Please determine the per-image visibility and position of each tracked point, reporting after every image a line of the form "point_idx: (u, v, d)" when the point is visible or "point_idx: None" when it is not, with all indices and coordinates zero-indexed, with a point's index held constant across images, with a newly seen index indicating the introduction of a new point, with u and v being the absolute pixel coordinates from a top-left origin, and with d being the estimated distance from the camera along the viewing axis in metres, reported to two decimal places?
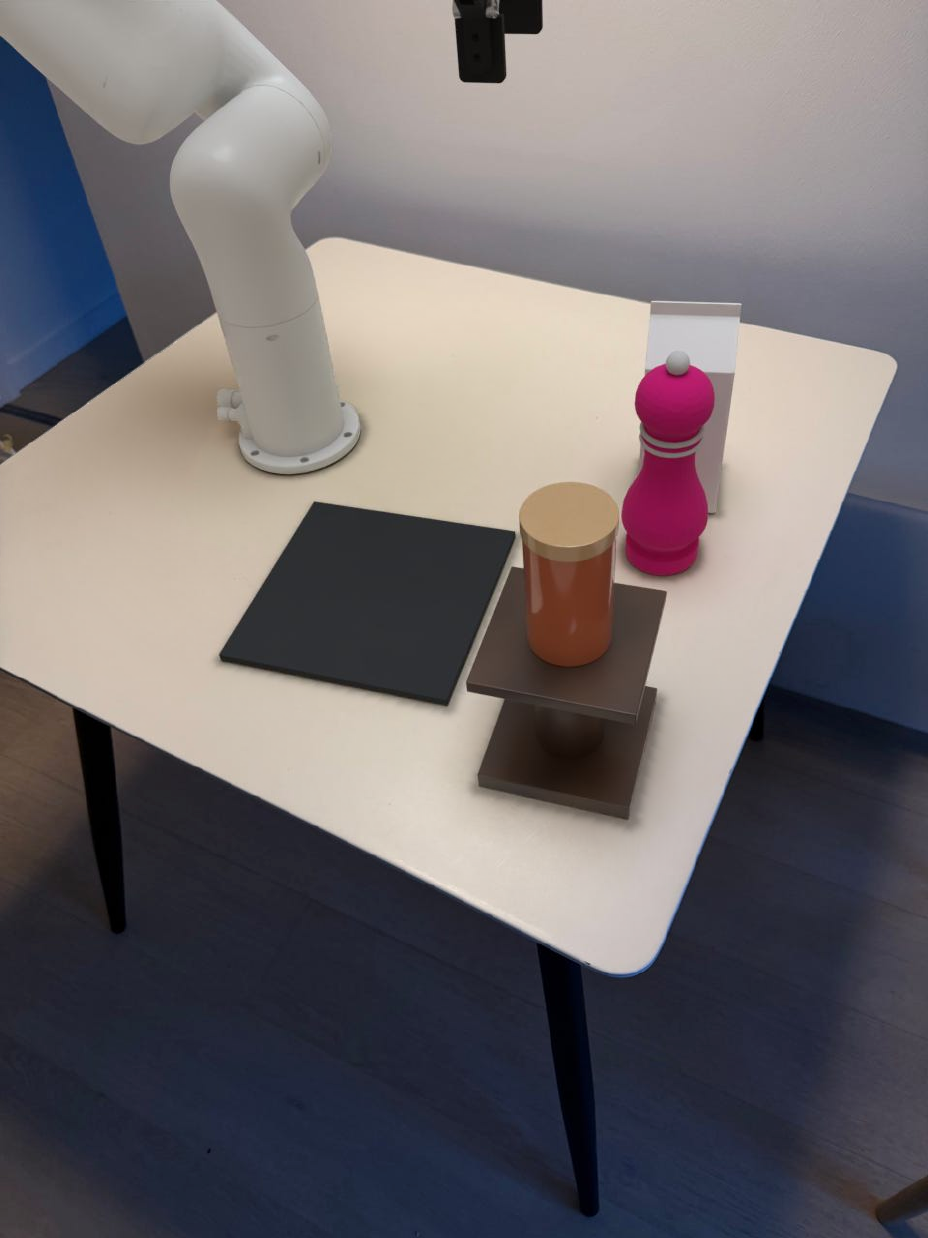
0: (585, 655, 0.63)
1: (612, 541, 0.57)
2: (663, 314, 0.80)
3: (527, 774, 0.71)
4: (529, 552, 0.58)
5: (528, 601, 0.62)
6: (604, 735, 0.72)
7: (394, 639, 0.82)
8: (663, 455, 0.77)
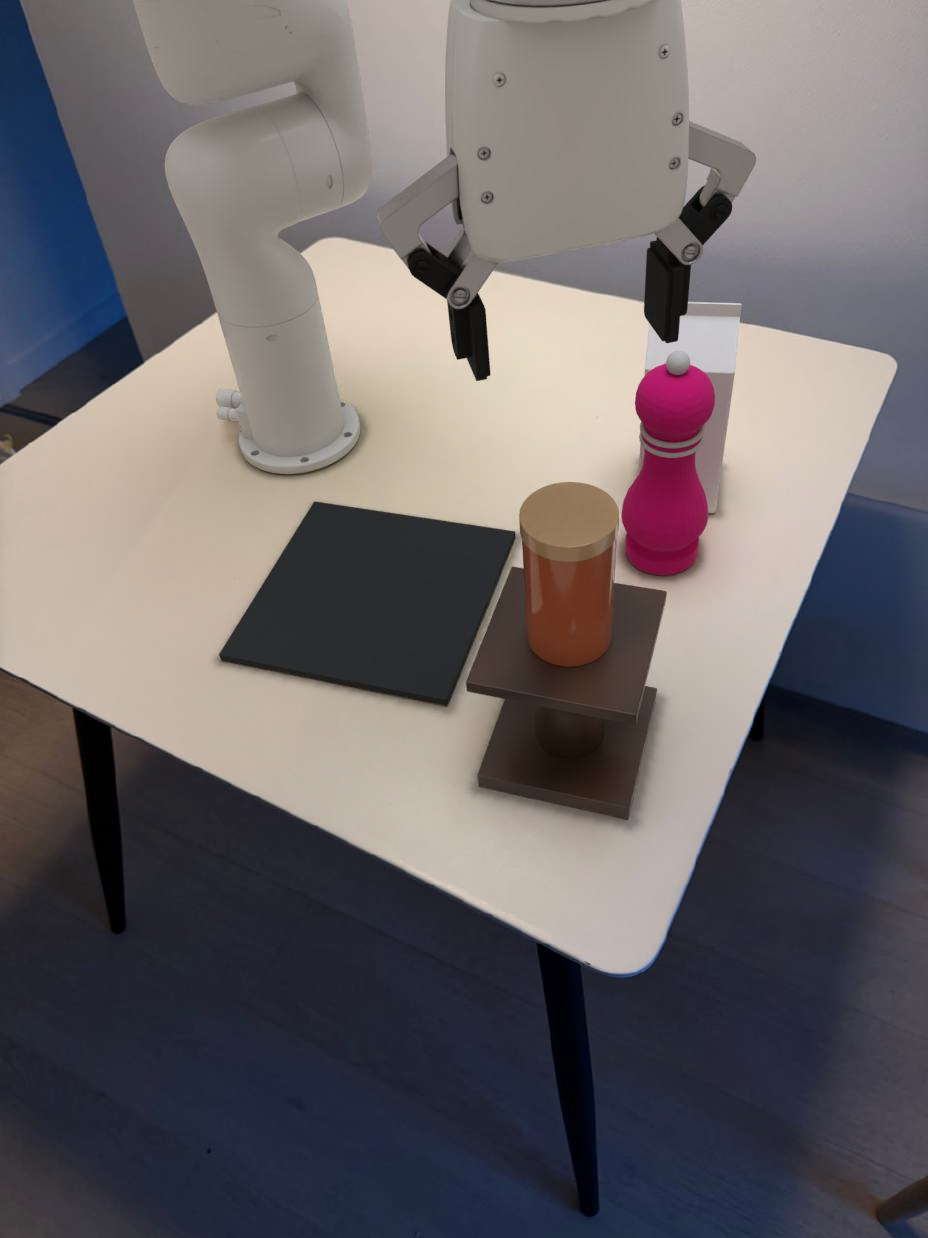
0: (585, 655, 0.63)
1: (612, 541, 0.57)
2: None
3: (527, 774, 0.71)
4: (529, 552, 0.58)
5: (528, 601, 0.62)
6: (604, 735, 0.72)
7: (394, 639, 0.82)
8: (664, 455, 0.77)
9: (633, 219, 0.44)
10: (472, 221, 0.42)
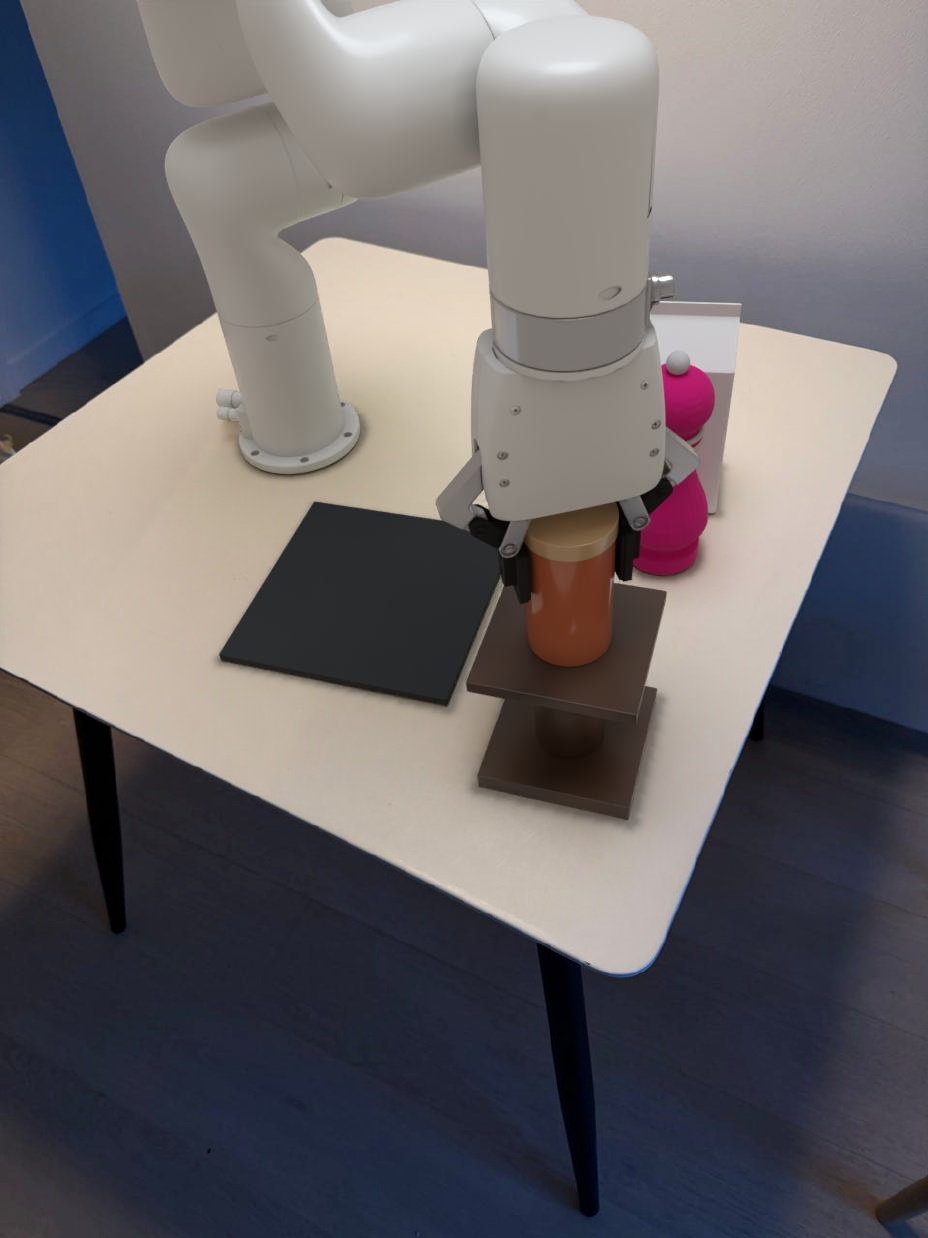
0: (585, 655, 0.63)
1: (612, 541, 0.57)
2: (663, 314, 0.80)
3: (527, 774, 0.71)
4: (529, 552, 0.58)
5: None
6: (604, 735, 0.72)
7: (394, 639, 0.82)
8: None
9: (621, 490, 0.54)
10: (492, 497, 0.53)
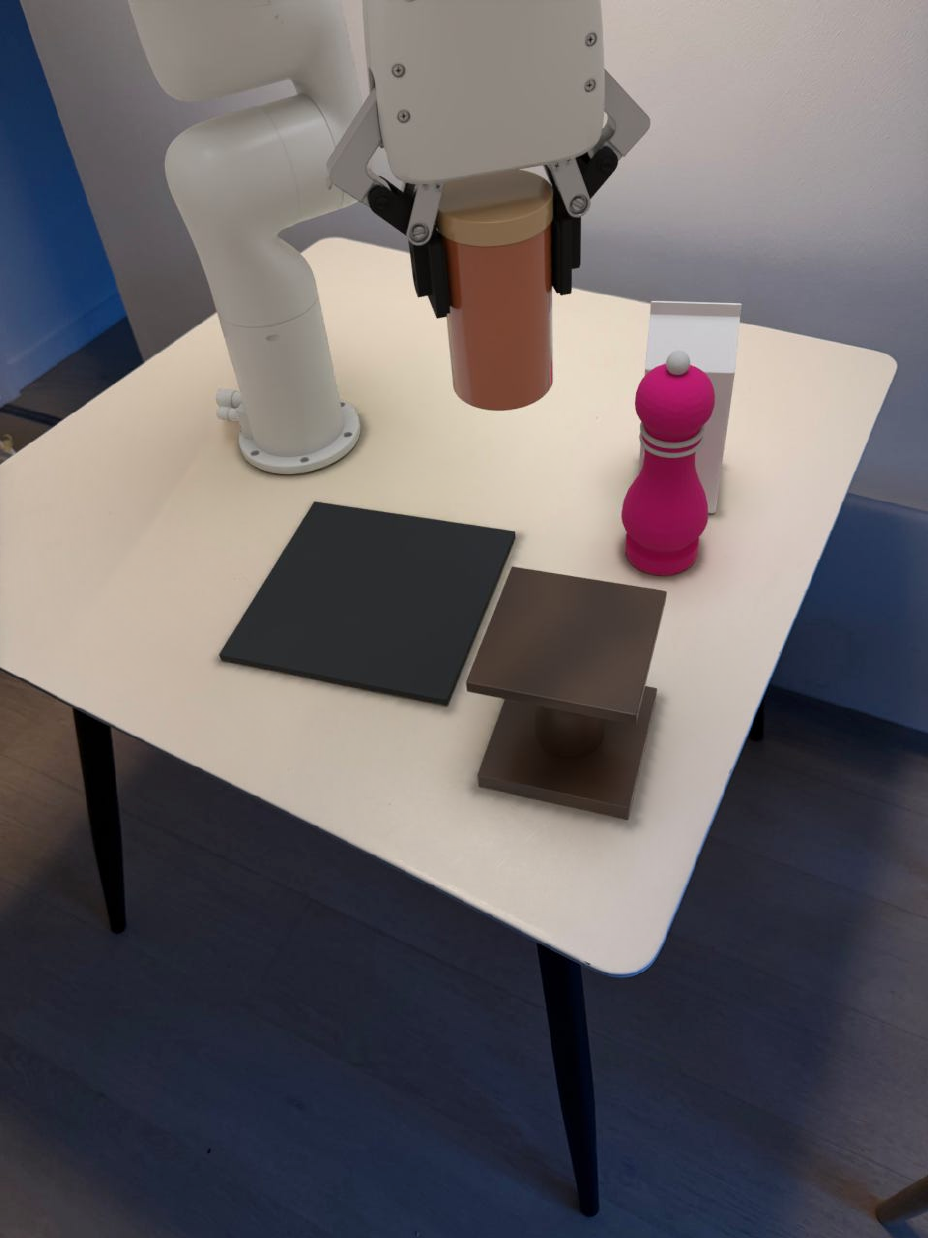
0: (518, 393, 0.53)
1: (544, 224, 0.47)
2: (663, 314, 0.80)
3: (527, 774, 0.71)
4: (445, 243, 0.48)
5: (449, 323, 0.51)
6: (604, 735, 0.72)
7: (394, 639, 0.82)
8: (664, 455, 0.77)
9: (551, 142, 0.44)
10: (390, 140, 0.43)
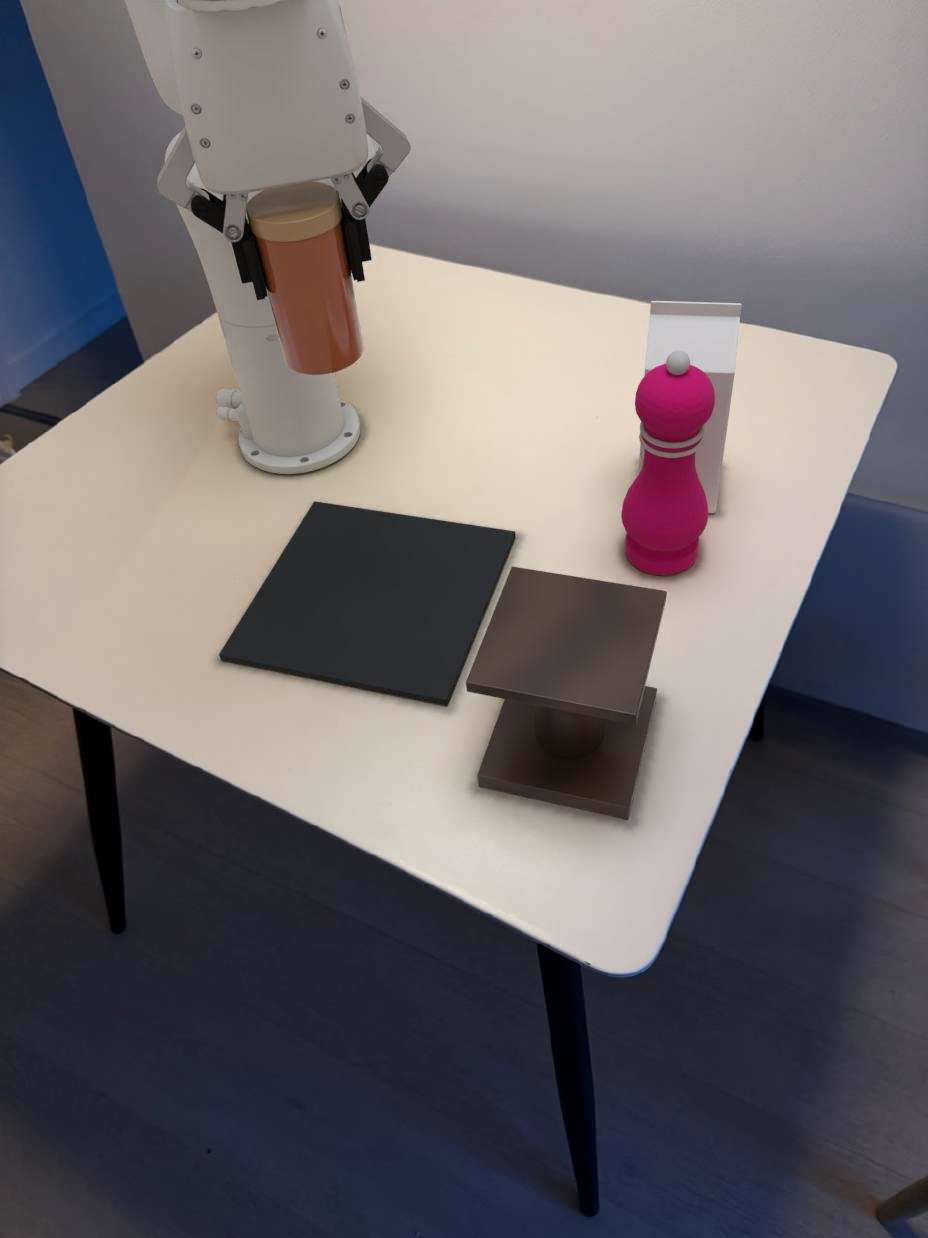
0: (329, 360, 0.66)
1: (331, 225, 0.60)
2: (663, 314, 0.80)
3: (527, 774, 0.71)
4: (256, 239, 0.61)
5: (270, 304, 0.65)
6: (604, 735, 0.72)
7: (394, 639, 0.82)
8: (663, 455, 0.77)
9: (326, 162, 0.58)
10: (198, 161, 0.56)
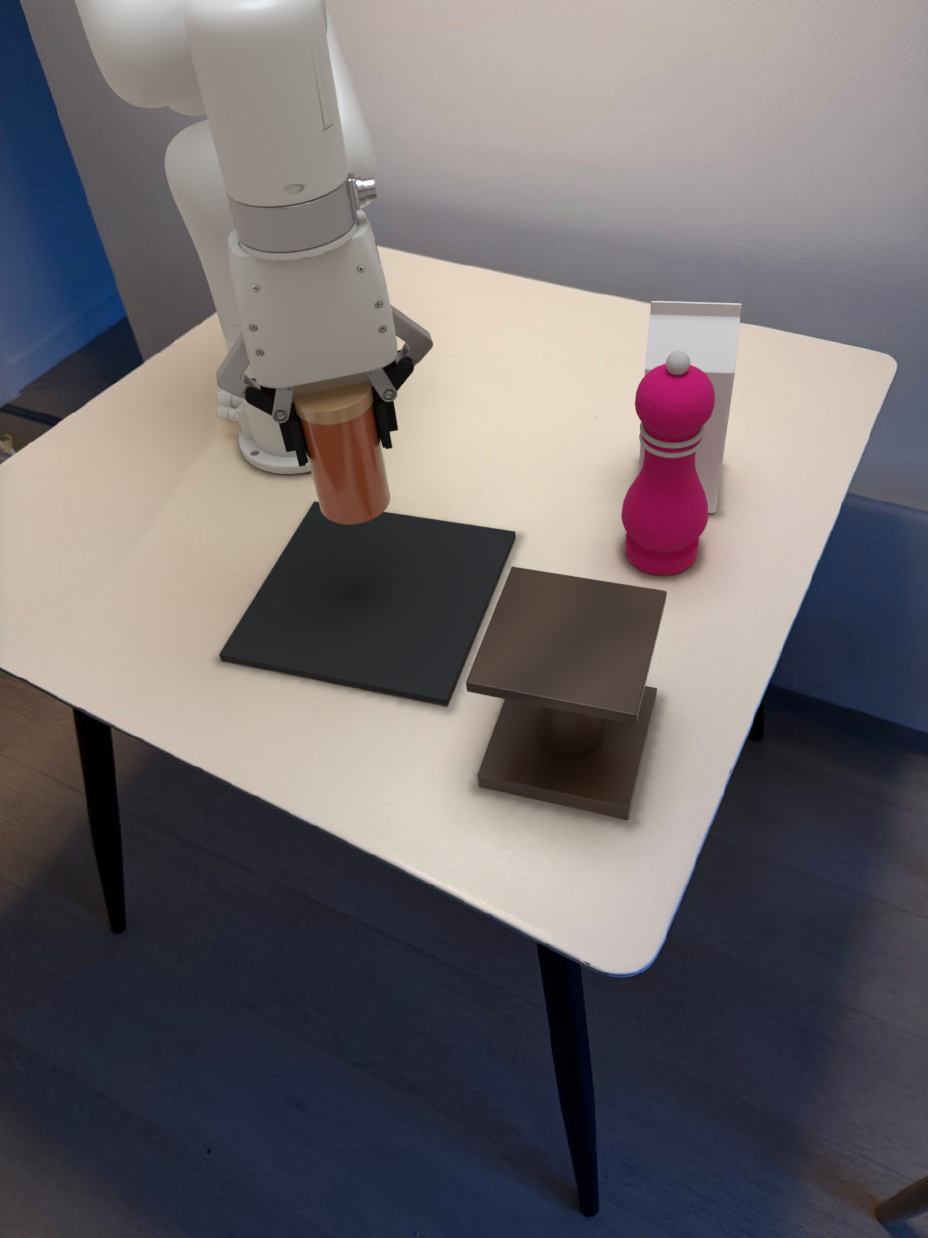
0: (361, 513, 0.76)
1: (364, 409, 0.70)
2: (663, 314, 0.80)
3: (527, 774, 0.71)
4: (300, 419, 0.71)
5: (310, 466, 0.74)
6: (604, 735, 0.72)
7: (394, 639, 0.82)
8: (663, 455, 0.77)
9: (361, 362, 0.67)
10: (253, 365, 0.66)
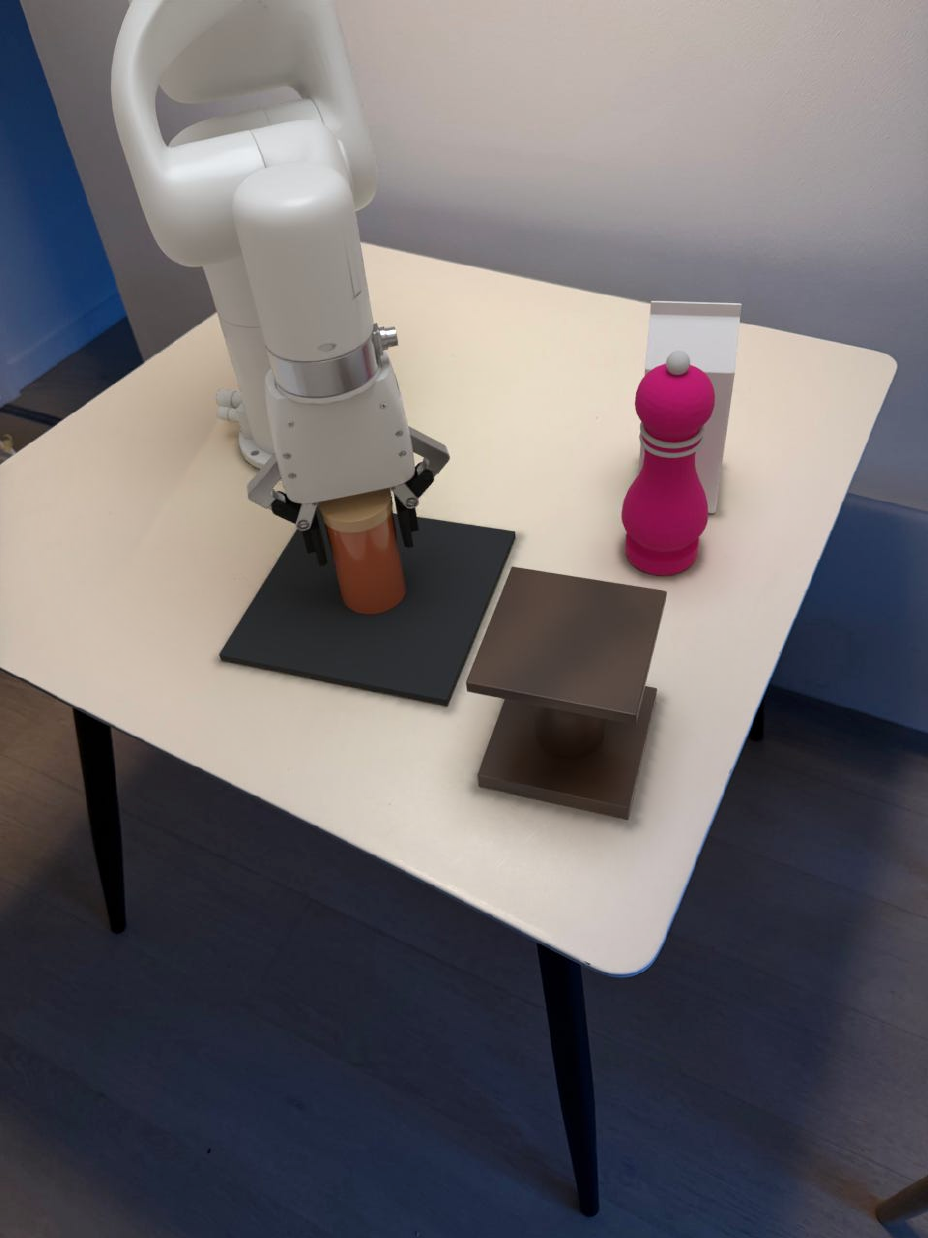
0: (380, 605, 0.83)
1: (385, 517, 0.77)
2: (663, 314, 0.80)
3: (527, 774, 0.71)
4: (326, 526, 0.78)
5: (334, 564, 0.82)
6: (604, 735, 0.72)
7: (394, 639, 0.82)
8: (664, 455, 0.77)
9: (382, 480, 0.75)
10: (285, 485, 0.74)
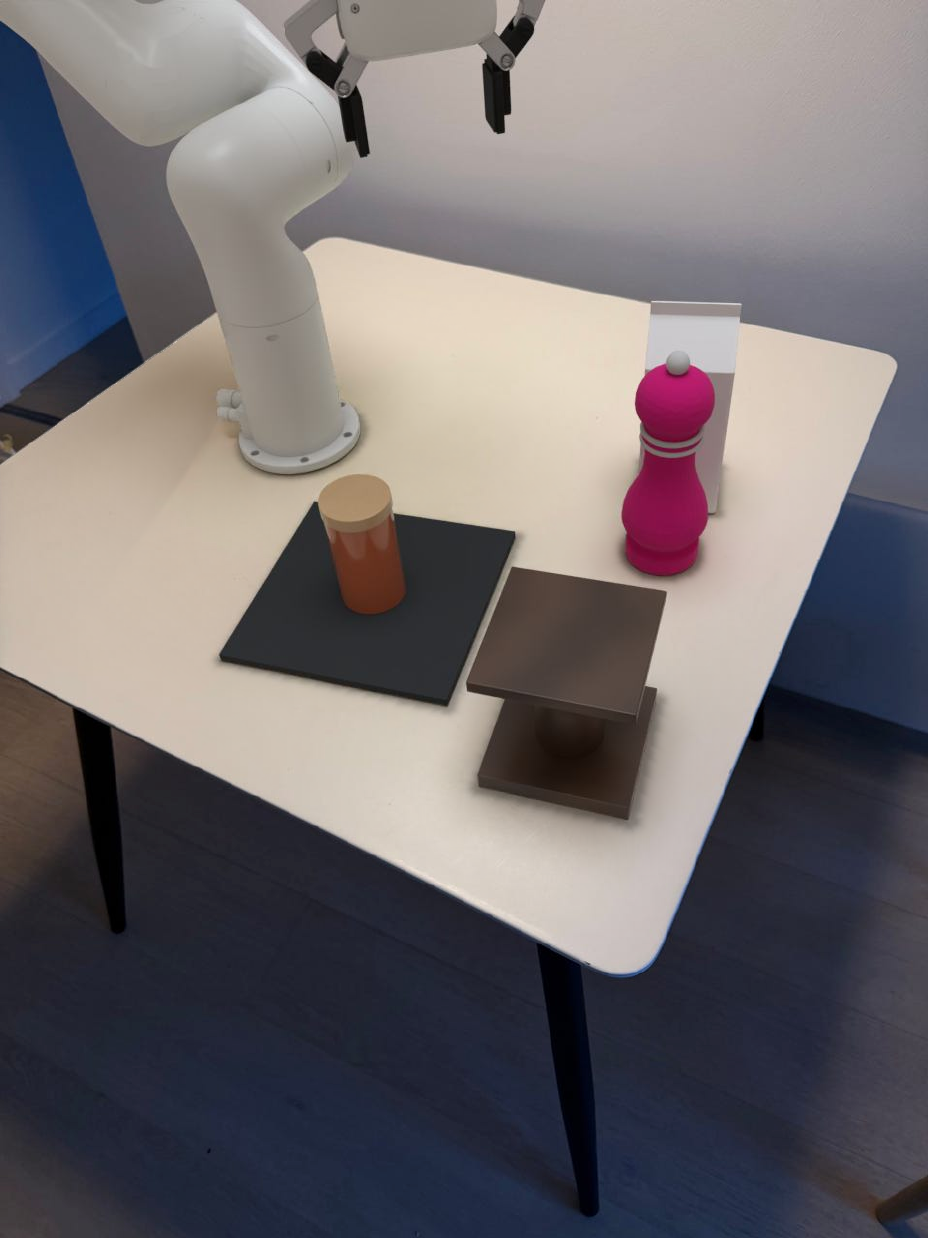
0: (380, 605, 0.83)
1: (384, 517, 0.77)
2: (663, 314, 0.80)
3: (527, 774, 0.71)
4: (326, 526, 0.78)
5: (334, 564, 0.82)
6: (604, 735, 0.72)
7: (394, 639, 0.82)
8: (663, 455, 0.77)
9: (459, 30, 0.63)
10: (346, 26, 0.62)
